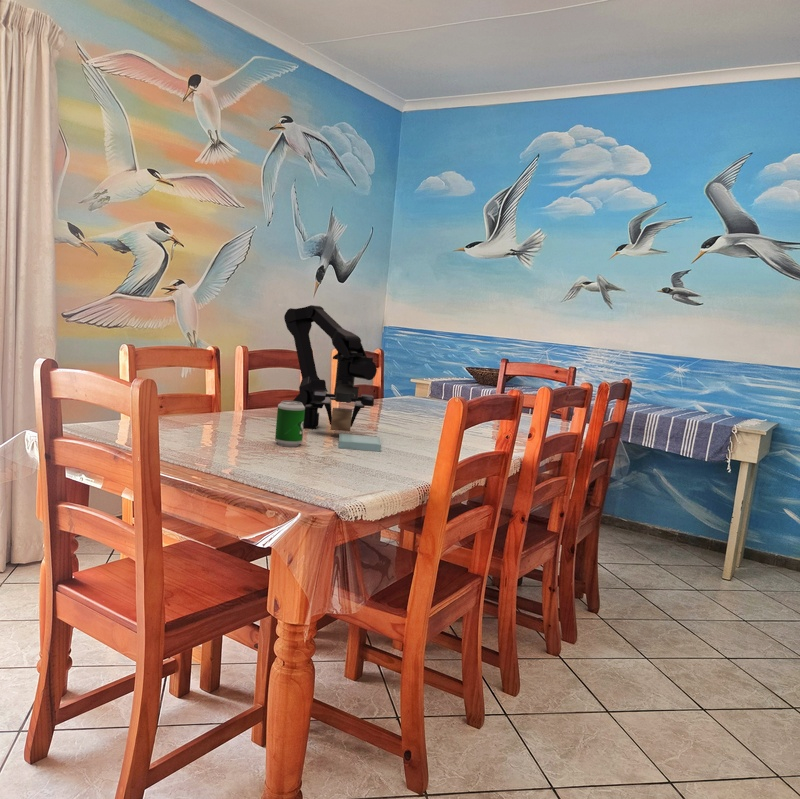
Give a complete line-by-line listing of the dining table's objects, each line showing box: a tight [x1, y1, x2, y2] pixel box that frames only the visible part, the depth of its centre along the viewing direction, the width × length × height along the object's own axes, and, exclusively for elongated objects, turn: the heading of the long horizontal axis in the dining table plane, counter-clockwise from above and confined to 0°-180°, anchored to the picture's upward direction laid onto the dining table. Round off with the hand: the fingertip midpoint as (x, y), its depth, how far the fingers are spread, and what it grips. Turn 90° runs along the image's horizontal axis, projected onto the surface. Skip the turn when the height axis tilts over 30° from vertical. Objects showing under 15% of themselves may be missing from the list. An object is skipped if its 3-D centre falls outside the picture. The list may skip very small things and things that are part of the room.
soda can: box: [274, 400, 305, 448], centre depth 194 cm, size 8×8×12 cm
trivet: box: [337, 433, 382, 453], centre depth 203 cm, size 12×12×2 cm
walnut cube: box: [330, 407, 353, 432], centre depth 215 cm, size 6×6×6 cm
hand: (340, 425), depth 215 cm, fingers closed on walnut cube, 6 cm apart
